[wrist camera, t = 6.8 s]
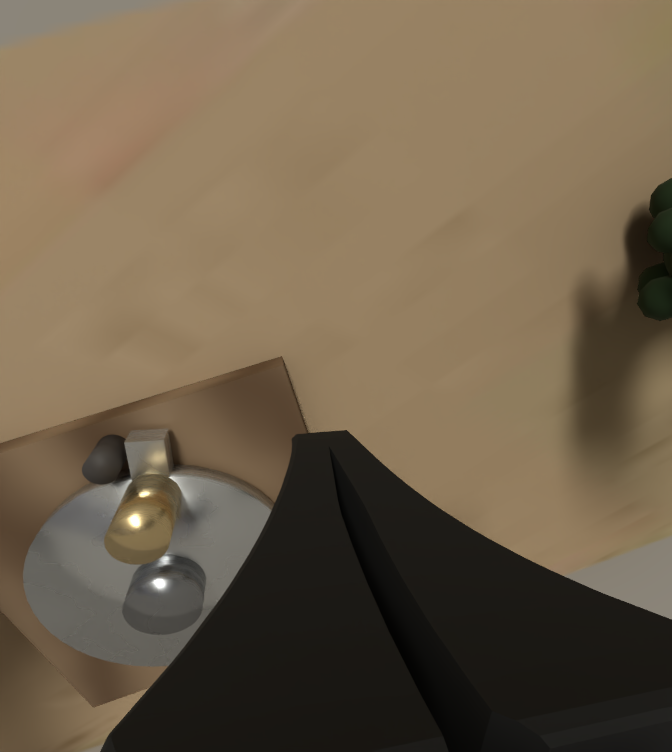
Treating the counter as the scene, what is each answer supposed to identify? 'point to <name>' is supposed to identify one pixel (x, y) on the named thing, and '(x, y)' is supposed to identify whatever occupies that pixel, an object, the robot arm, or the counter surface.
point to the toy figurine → (668, 279)
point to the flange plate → (102, 579)
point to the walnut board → (108, 457)
